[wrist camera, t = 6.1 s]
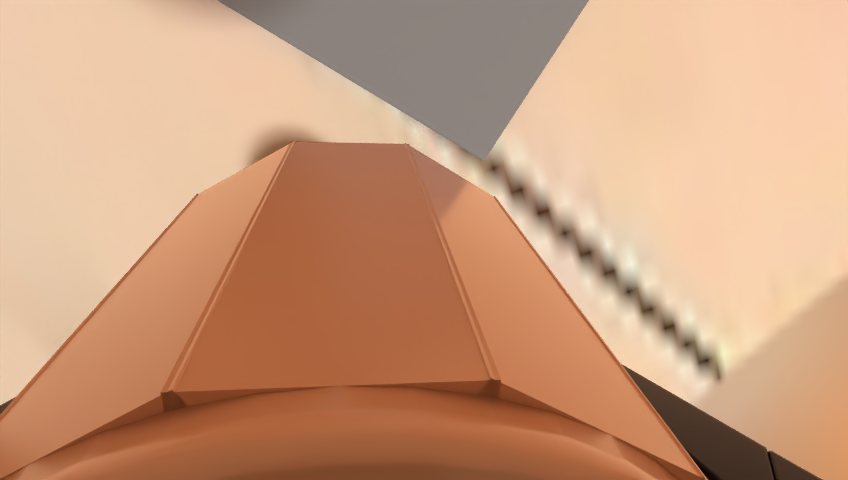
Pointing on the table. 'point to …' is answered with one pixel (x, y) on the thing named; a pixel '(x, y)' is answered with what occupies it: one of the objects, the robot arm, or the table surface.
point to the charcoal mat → (430, 53)
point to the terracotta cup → (338, 344)
